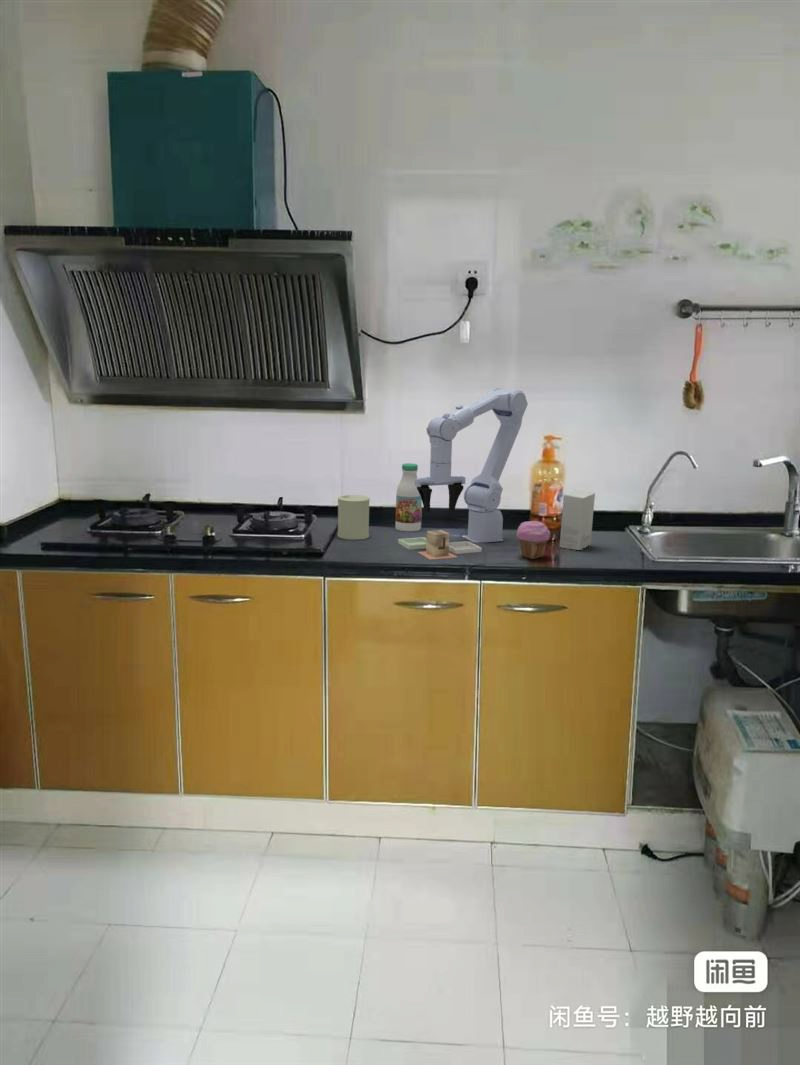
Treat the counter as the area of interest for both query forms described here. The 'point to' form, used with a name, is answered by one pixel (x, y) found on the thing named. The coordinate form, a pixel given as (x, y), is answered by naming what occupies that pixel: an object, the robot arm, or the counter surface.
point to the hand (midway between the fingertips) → (439, 511)
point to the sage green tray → (413, 543)
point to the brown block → (437, 543)
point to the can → (353, 517)
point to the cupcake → (533, 538)
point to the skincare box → (577, 519)
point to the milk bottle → (408, 500)
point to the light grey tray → (463, 547)
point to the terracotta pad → (437, 557)
